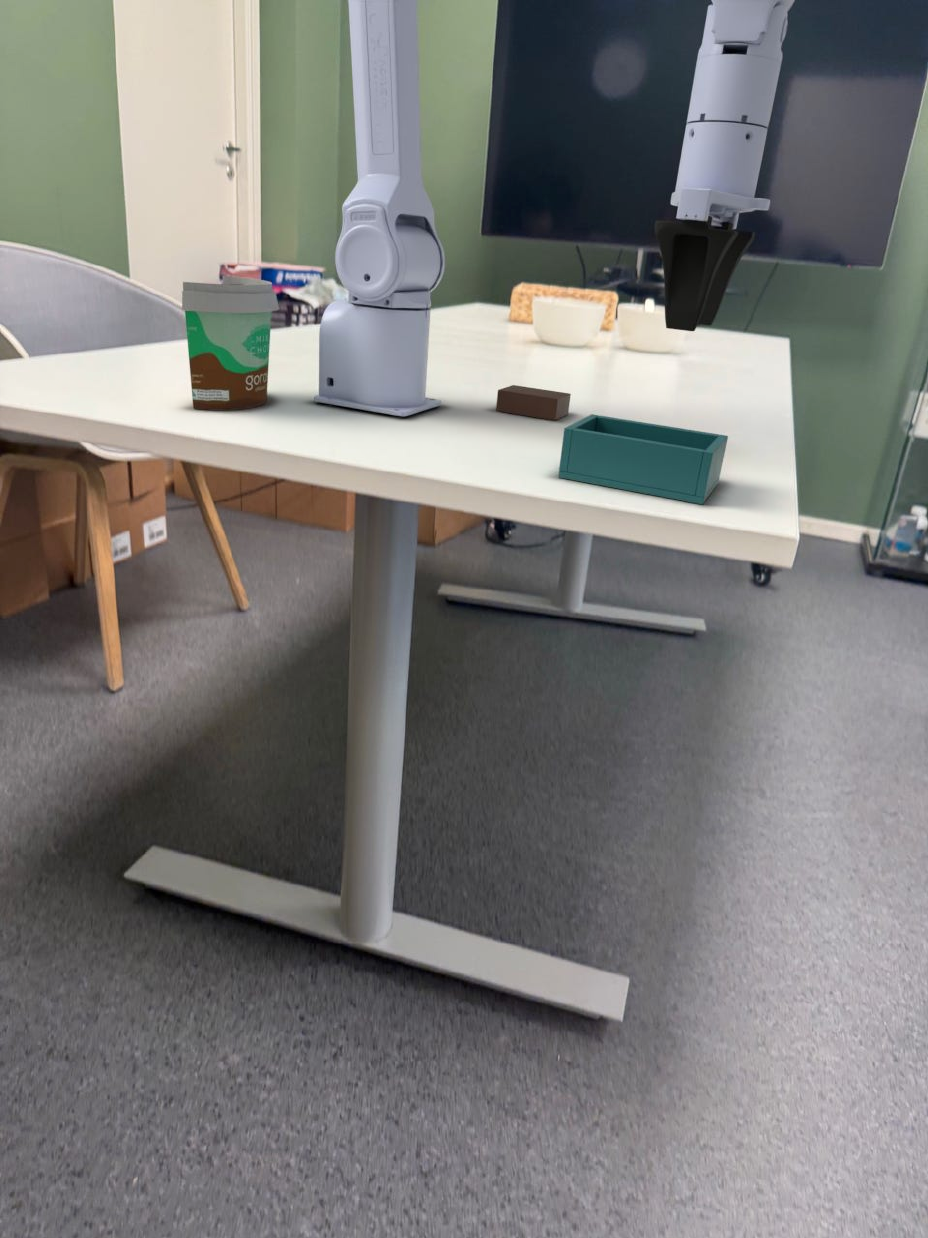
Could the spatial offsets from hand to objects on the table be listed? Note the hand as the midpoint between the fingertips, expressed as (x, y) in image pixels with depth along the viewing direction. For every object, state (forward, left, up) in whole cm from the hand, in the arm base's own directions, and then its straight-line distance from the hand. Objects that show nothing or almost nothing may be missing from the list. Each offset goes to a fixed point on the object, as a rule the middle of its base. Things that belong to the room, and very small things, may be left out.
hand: (689, 326), depth 66 cm
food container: (-36, -9, -10) cm, 39 cm away
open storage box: (0, -11, -10) cm, 15 cm away
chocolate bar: (-15, +7, -10) cm, 19 cm away
